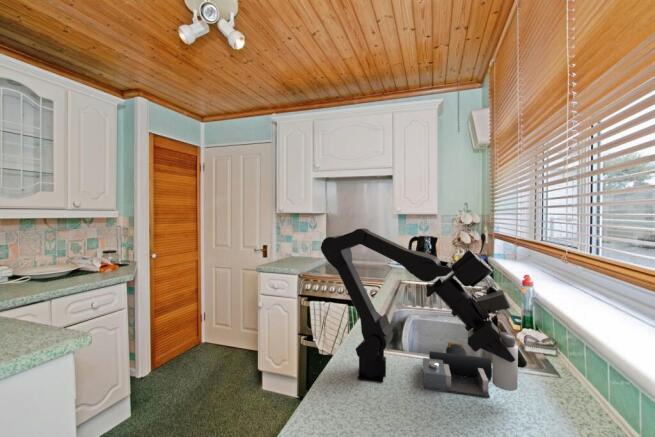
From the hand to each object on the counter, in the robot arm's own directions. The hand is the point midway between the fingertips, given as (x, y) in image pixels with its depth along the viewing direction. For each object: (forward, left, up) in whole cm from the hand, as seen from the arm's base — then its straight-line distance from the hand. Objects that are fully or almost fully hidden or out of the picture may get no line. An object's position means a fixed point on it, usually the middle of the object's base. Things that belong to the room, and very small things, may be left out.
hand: (512, 356), depth 68 cm
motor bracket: (-11, +7, -12) cm, 18 cm away
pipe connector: (-9, +17, -12) cm, 23 cm away
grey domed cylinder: (-1, 0, -7) cm, 7 cm away
